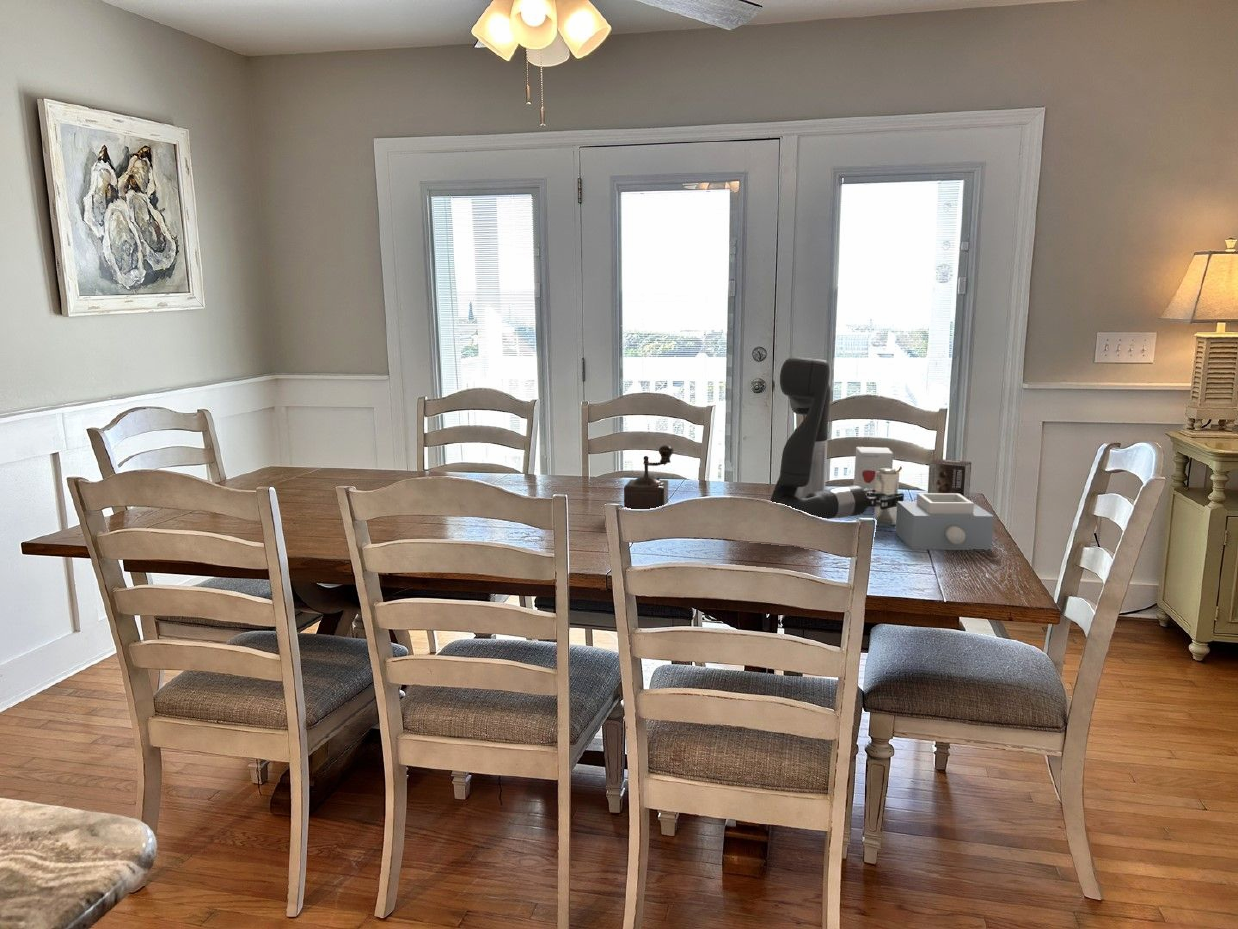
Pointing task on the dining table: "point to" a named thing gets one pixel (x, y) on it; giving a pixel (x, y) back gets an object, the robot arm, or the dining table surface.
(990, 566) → the dining table surface
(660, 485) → the manual coffee grinder
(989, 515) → the box
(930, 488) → the coffee box
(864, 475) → the supplement box
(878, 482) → the spout can
